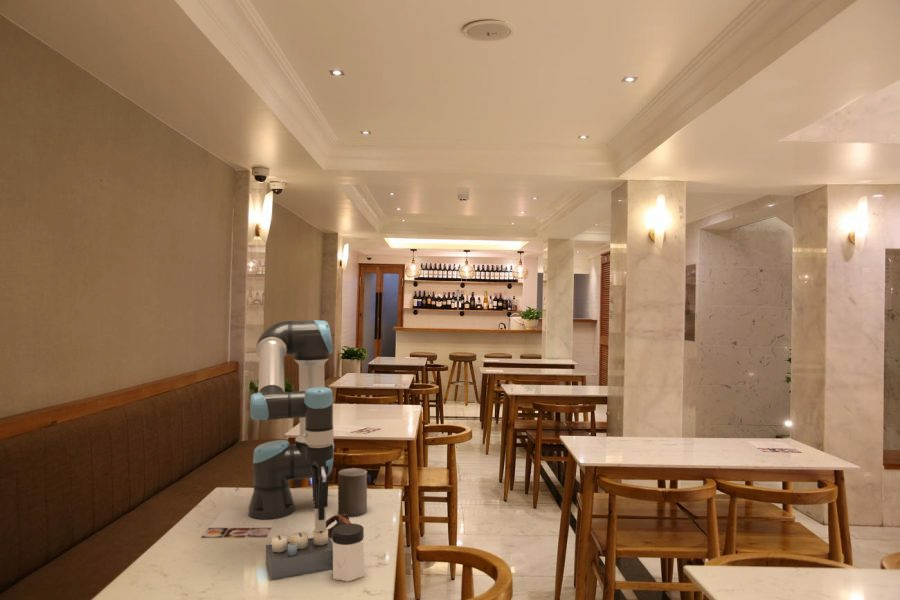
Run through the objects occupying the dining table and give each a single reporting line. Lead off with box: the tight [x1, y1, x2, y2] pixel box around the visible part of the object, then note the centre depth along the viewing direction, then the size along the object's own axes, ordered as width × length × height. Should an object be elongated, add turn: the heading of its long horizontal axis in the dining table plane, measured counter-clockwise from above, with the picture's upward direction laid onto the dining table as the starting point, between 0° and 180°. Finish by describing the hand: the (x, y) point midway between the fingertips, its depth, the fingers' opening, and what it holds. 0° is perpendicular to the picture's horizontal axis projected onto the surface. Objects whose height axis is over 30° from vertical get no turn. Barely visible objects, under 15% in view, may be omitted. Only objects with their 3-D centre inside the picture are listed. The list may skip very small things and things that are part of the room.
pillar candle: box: [337, 467, 368, 518], centre depth 212 cm, size 10×10×15 cm
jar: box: [331, 522, 365, 583], centre depth 164 cm, size 9×8×12 cm
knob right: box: [312, 528, 328, 546], centre depth 173 cm, size 4×4×8 cm
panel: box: [265, 537, 333, 581], centre depth 170 cm, size 11×17×5 cm, turn 113°
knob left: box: [271, 534, 288, 553], centre depth 168 cm, size 4×4×8 cm
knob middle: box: [292, 531, 309, 549], centre depth 170 cm, size 4×4×8 cm
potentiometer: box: [288, 536, 297, 556], centre depth 166 cm, size 2×2×4 cm
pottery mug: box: [326, 513, 352, 539], centre depth 189 cm, size 12×10×8 cm
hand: (320, 530), depth 172 cm, fingers closed
